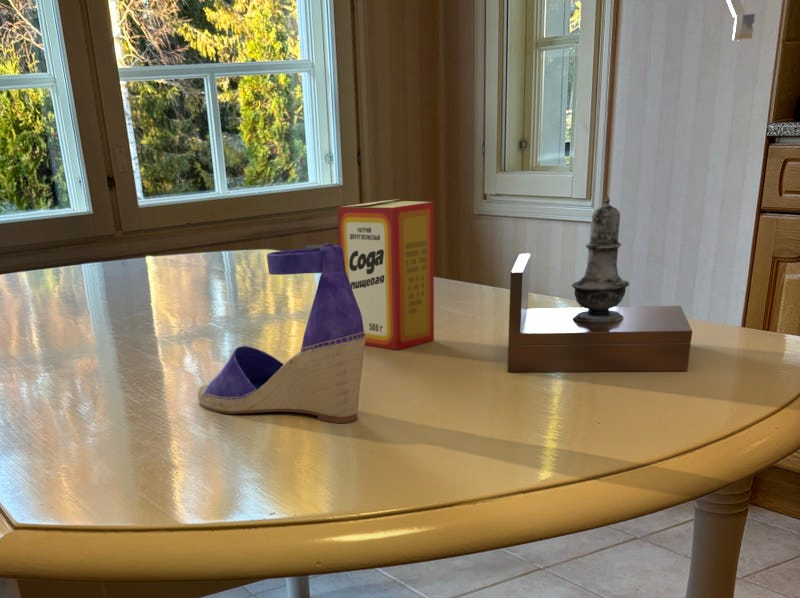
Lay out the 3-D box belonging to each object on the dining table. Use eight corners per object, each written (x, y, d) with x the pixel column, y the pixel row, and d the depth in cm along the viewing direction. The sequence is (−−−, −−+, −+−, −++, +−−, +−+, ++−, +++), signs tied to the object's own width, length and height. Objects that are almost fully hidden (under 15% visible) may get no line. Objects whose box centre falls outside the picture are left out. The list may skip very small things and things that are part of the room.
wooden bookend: (676, 342, 106) (687, 247, 101) (687, 371, 94) (700, 266, 89) (516, 344, 110) (519, 254, 105) (507, 372, 98) (510, 272, 94)
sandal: (244, 388, 100) (229, 237, 93) (381, 415, 87) (376, 243, 80) (184, 405, 95) (163, 247, 88) (319, 437, 82) (307, 255, 75)
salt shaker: (637, 317, 100) (649, 194, 94) (600, 326, 97) (610, 199, 91) (595, 311, 104) (604, 193, 98) (558, 319, 101) (565, 198, 95)
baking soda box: (433, 340, 115) (433, 198, 108) (396, 350, 112) (393, 204, 104) (380, 332, 122) (376, 198, 114) (344, 341, 118) (337, 203, 110)
